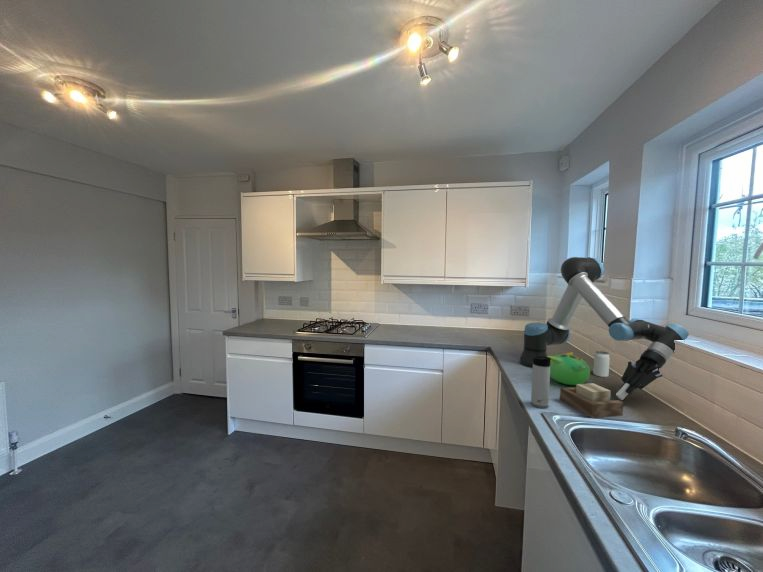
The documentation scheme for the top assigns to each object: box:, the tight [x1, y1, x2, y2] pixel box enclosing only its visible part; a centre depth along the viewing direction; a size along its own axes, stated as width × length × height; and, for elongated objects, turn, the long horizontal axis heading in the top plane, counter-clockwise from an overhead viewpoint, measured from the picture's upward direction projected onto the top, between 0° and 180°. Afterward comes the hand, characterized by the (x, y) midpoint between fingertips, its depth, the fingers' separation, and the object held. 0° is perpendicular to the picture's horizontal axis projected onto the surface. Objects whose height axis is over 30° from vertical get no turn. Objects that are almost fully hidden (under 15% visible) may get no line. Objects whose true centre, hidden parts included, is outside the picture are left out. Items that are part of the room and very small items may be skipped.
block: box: [575, 382, 612, 402], centre depth 125 cm, size 8×8×8 cm
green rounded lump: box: [547, 351, 591, 386], centre depth 149 cm, size 18×17×15 cm
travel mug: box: [530, 356, 551, 409], centre depth 125 cm, size 6×7×20 cm
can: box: [593, 350, 611, 378], centre depth 162 cm, size 6×6×12 cm
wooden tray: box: [559, 386, 624, 419], centre depth 125 cm, size 14×16×5 cm
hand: (619, 397), depth 127 cm, fingers closed
